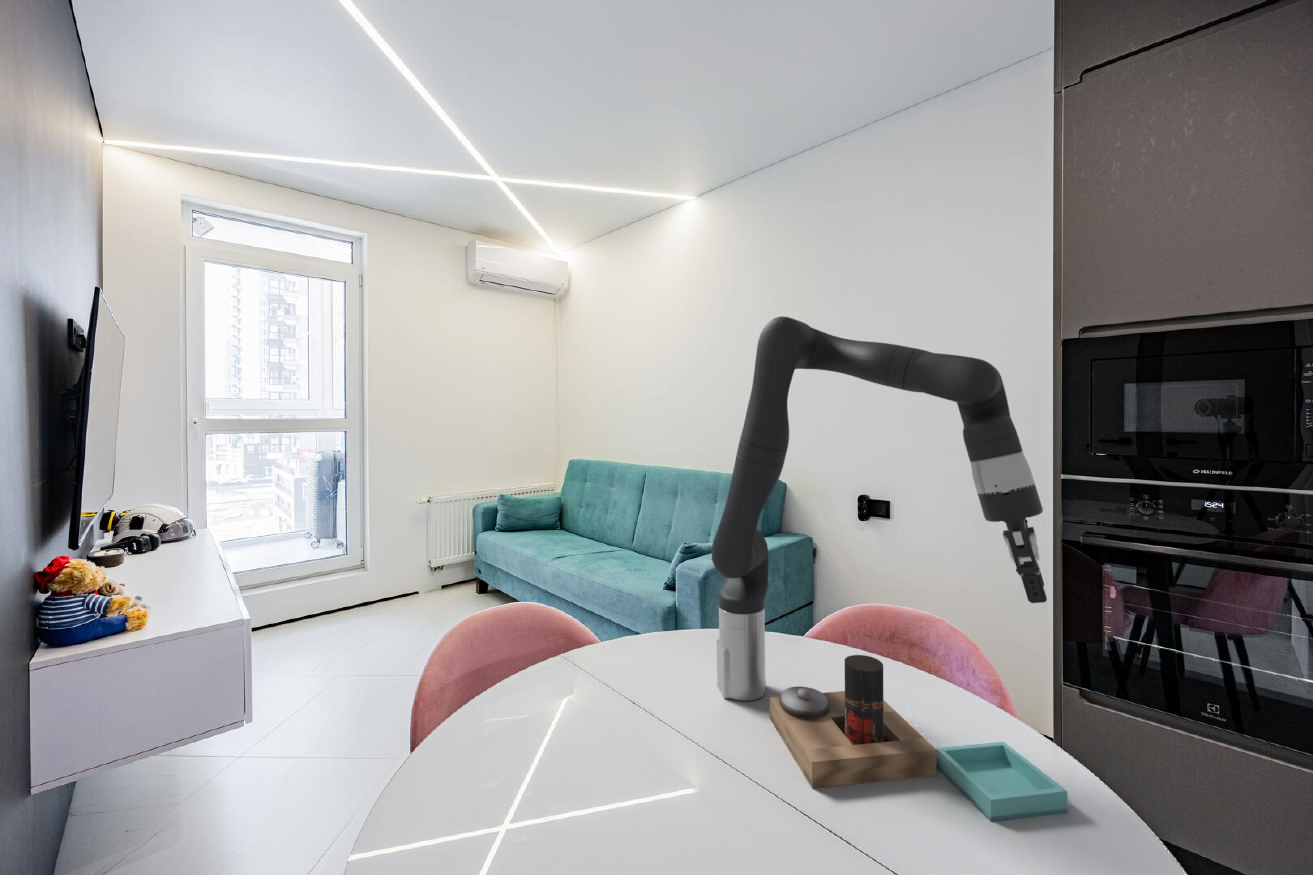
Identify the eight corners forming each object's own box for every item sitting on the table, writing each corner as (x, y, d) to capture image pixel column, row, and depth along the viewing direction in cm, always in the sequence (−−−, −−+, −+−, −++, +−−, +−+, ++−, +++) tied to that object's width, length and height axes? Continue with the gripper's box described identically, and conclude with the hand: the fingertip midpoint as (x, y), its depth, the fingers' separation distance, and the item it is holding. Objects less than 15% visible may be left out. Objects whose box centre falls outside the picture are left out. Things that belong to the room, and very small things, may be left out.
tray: (990, 821, 73) (990, 799, 73) (936, 766, 84) (936, 748, 84) (1067, 812, 74) (1067, 790, 74) (1003, 759, 86) (1003, 741, 86)
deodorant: (839, 742, 91) (838, 655, 91) (872, 740, 92) (872, 653, 91) (855, 764, 85) (854, 672, 85) (890, 762, 86) (890, 669, 85)
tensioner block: (812, 788, 80) (811, 743, 80) (769, 717, 99) (768, 681, 99) (936, 775, 82) (936, 731, 82) (871, 708, 102) (870, 673, 101)
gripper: (979, 487, 89) (1008, 585, 87) (973, 495, 77) (1007, 609, 75) (1033, 478, 85) (1064, 580, 83) (1035, 485, 73) (1072, 605, 71)
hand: (1037, 594), depth 79 cm, fingers open, 8 cm apart
